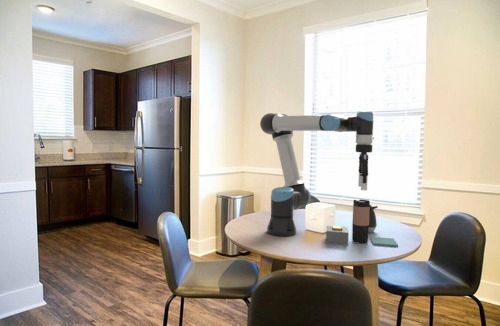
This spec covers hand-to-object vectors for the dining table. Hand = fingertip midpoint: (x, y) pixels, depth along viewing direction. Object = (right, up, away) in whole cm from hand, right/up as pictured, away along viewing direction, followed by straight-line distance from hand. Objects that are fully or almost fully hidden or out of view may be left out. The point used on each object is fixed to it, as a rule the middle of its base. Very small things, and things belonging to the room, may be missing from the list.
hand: (362, 188), depth 167 cm
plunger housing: (-12, -26, +1) cm, 28 cm away
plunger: (-12, -25, +1) cm, 28 cm away
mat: (+10, -26, 0) cm, 28 cm away
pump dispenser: (+9, -25, +20) cm, 33 cm away
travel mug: (-1, -26, +2) cm, 26 cm away
